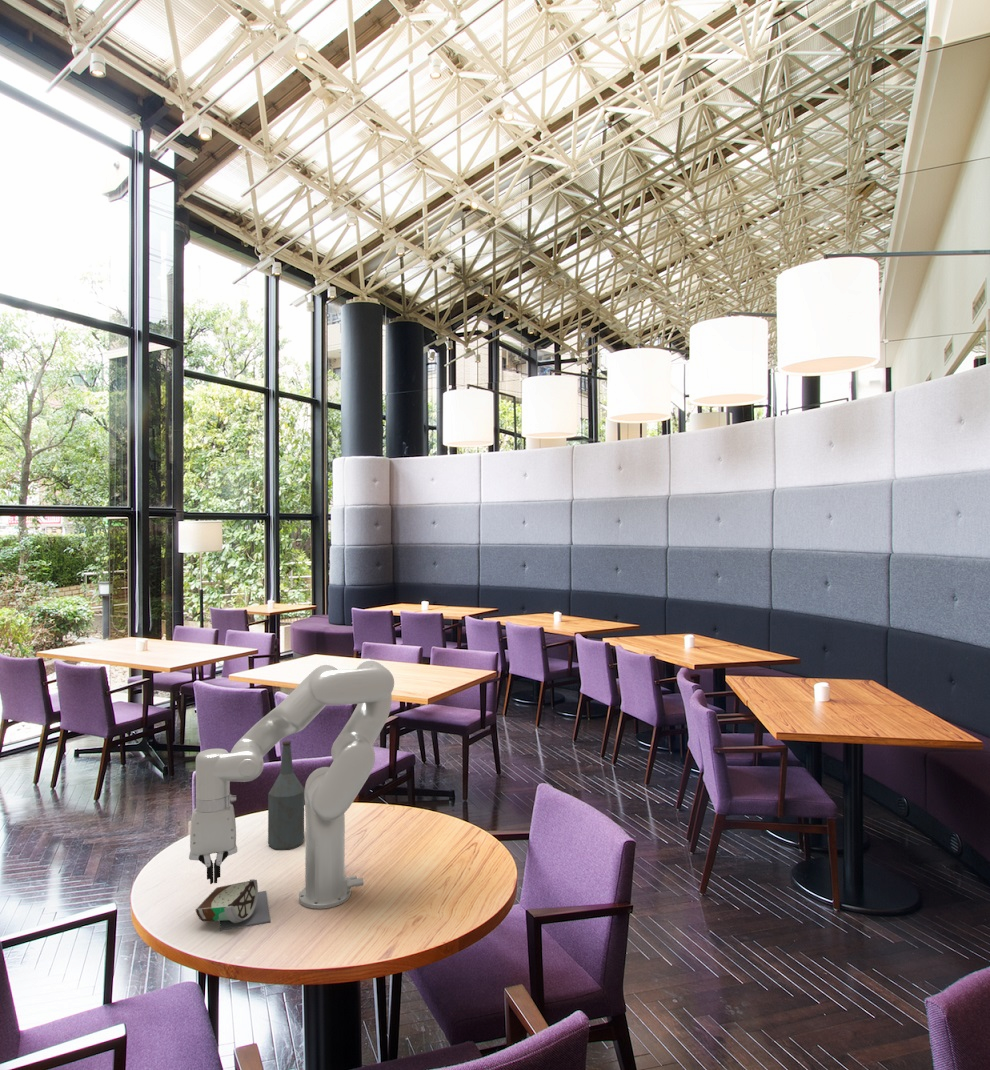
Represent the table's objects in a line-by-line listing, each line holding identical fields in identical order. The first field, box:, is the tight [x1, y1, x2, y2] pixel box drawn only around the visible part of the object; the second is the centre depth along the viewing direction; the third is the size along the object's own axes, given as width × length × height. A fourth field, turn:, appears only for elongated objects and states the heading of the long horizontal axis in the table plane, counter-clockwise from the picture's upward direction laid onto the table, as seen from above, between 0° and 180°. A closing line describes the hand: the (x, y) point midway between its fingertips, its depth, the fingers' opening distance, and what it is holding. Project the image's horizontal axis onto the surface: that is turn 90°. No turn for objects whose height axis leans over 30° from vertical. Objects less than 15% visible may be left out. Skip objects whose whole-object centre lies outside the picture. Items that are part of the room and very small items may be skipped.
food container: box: [195, 878, 259, 923], centre depth 171 cm, size 12×6×10 cm
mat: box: [219, 890, 271, 932], centre depth 175 cm, size 11×16×1 cm
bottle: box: [267, 740, 305, 851], centre depth 216 cm, size 10×10×30 cm
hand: (213, 881), depth 173 cm, fingers closed
